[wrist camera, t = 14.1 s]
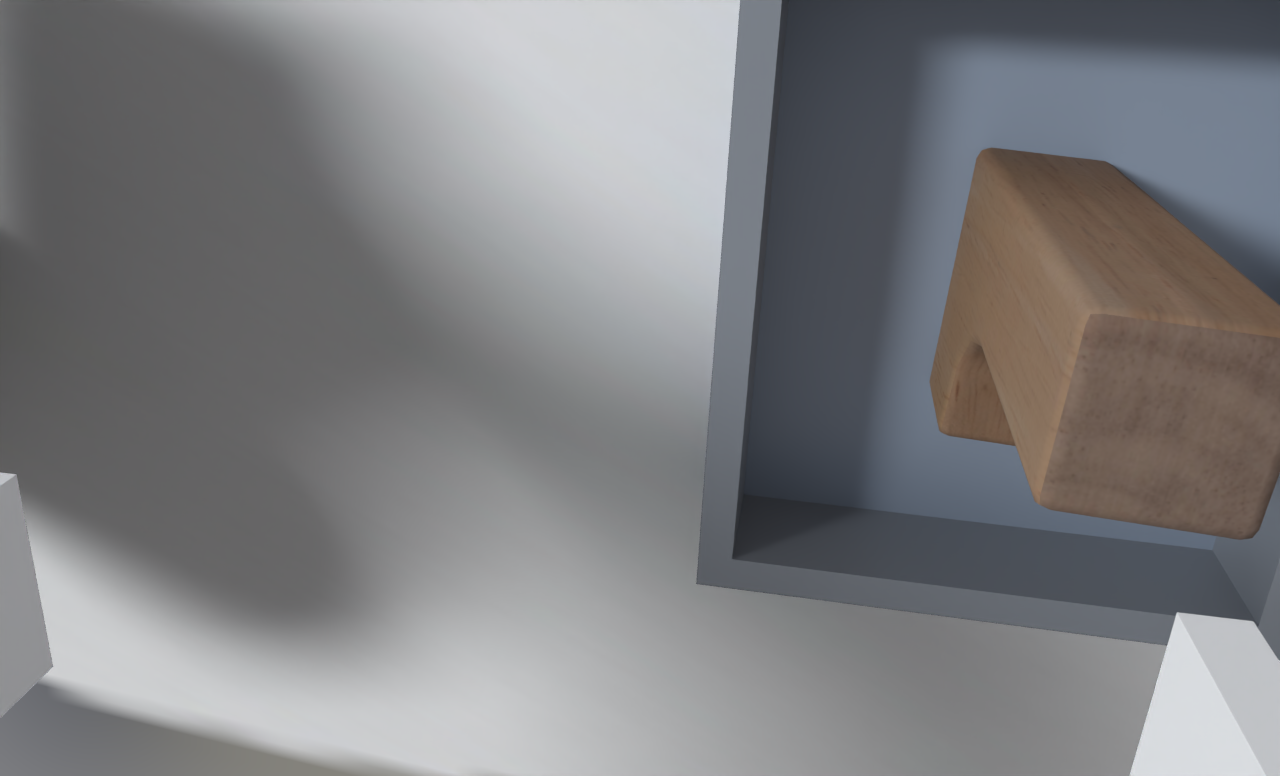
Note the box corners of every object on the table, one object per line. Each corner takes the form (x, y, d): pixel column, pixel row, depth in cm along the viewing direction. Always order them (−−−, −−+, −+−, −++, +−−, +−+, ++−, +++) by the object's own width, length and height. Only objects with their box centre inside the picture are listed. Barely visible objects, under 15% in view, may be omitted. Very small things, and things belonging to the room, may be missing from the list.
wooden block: (1051, 406, 40) (1196, 730, 24) (926, 387, 41) (983, 692, 24) (1115, 160, 37) (1337, 341, 20) (977, 144, 37) (1085, 306, 21)
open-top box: (714, 505, 45) (696, 583, 40) (760, -76, 37) (746, -78, 31) (1229, 567, 42) (1287, 661, 37) (1409, -45, 34) (1518, -42, 28)
